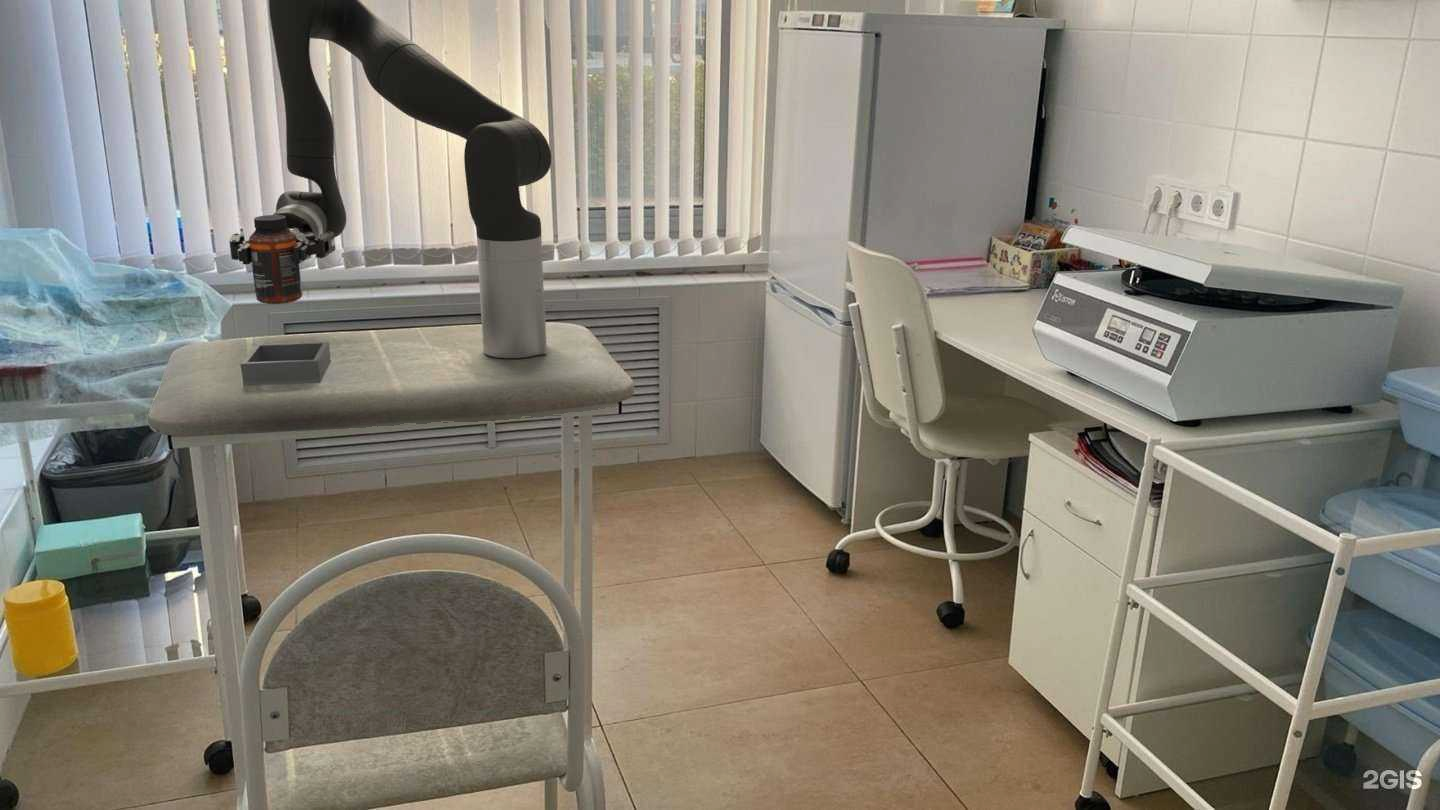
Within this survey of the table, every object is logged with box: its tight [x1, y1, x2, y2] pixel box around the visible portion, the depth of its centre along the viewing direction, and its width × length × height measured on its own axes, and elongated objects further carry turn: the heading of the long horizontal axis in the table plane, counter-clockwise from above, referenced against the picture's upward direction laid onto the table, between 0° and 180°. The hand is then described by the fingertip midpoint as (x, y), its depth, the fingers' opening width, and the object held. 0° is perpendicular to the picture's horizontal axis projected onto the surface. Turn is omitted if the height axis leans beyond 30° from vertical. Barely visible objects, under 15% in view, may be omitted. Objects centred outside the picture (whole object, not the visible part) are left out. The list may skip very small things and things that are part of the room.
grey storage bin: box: [240, 341, 332, 386], centre depth 158 cm, size 10×10×3 cm
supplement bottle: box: [248, 214, 303, 305], centre depth 153 cm, size 6×6×11 cm
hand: (270, 256), depth 151 cm, fingers closed on supplement bottle, 6 cm apart
